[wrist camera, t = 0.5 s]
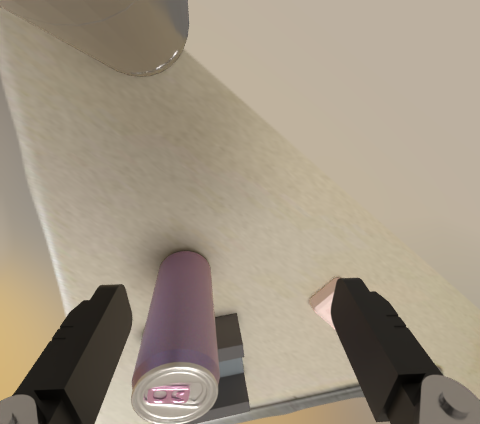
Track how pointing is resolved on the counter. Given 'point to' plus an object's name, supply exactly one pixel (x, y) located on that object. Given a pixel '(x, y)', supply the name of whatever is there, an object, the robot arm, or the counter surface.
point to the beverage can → (178, 345)
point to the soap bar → (324, 301)
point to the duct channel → (228, 372)
